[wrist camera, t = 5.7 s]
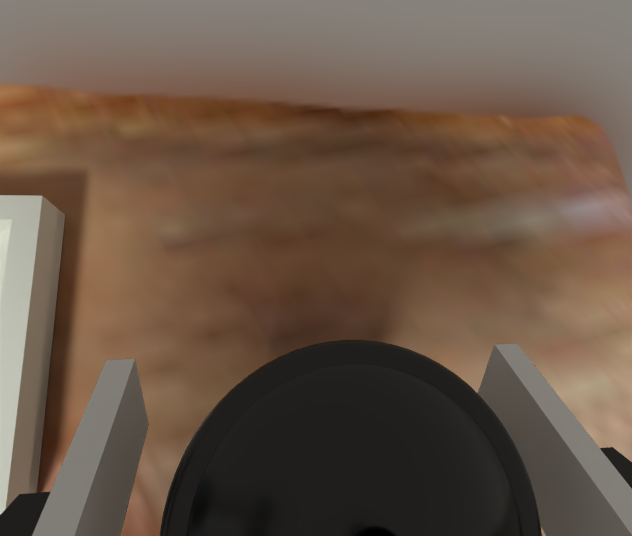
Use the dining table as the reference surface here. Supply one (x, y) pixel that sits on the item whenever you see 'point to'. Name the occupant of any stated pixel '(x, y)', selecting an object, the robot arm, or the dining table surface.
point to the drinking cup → (351, 453)
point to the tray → (25, 334)
